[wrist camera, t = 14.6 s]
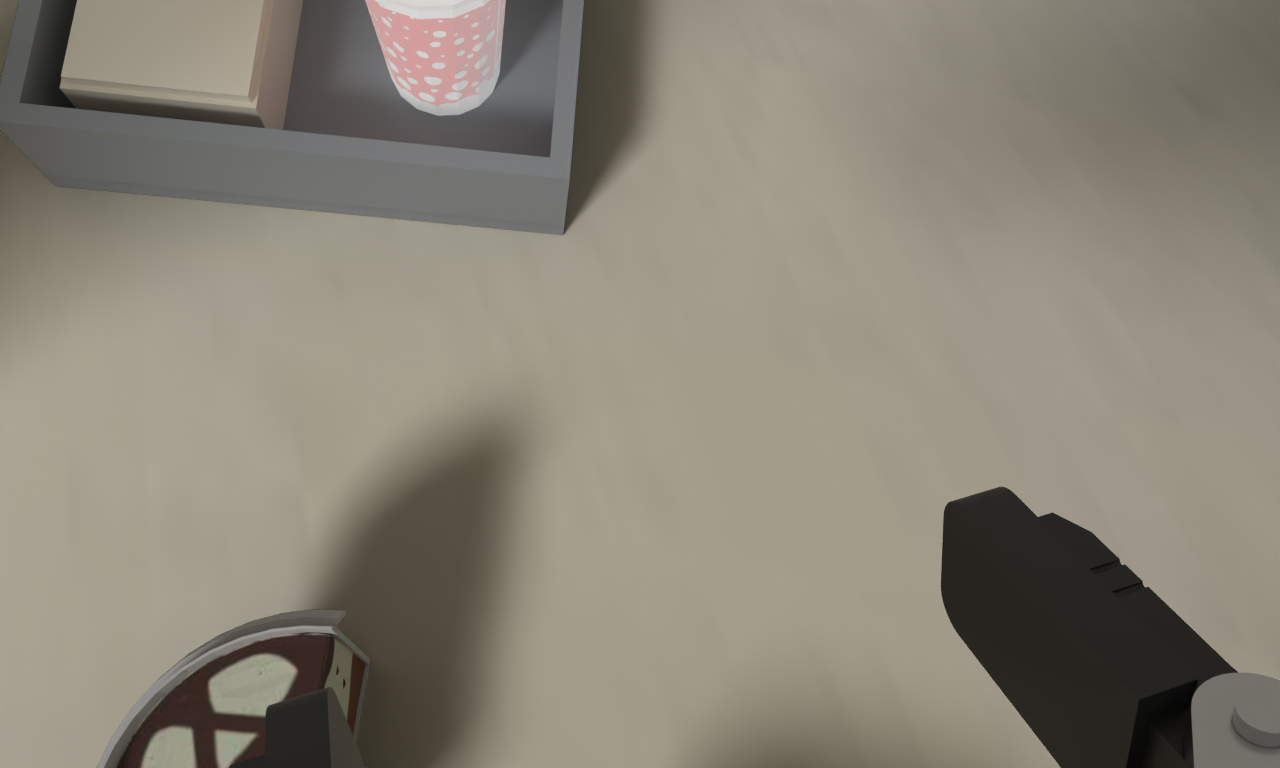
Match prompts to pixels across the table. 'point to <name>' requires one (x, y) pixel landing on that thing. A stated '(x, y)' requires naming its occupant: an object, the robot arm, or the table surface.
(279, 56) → the beige rectangular block
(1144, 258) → the table surface
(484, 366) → the table surface
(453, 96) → the beverage cup
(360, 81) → the tray
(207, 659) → the food container
